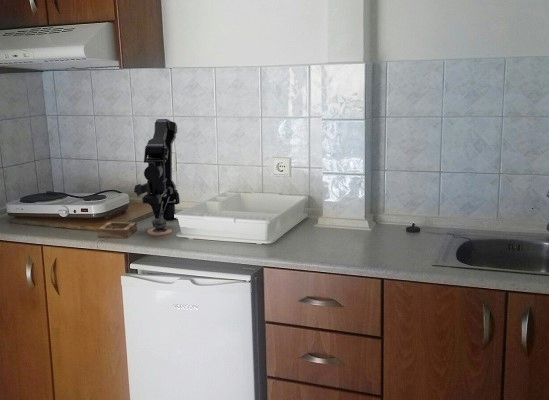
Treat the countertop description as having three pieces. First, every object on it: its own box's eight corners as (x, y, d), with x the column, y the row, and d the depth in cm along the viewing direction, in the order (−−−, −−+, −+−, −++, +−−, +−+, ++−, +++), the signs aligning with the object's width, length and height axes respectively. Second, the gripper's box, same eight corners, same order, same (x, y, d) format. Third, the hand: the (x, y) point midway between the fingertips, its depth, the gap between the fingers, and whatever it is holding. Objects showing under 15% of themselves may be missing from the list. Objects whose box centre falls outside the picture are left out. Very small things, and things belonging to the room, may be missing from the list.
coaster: (152, 228, 238) (151, 227, 238) (174, 229, 237) (174, 227, 237) (144, 234, 230) (144, 233, 230) (167, 235, 229) (167, 234, 228)
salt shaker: (165, 232, 231) (164, 201, 228) (150, 232, 231) (148, 201, 228) (168, 228, 236) (167, 198, 234) (153, 228, 236) (152, 198, 234)
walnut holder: (109, 229, 238) (109, 221, 237) (136, 230, 236) (136, 222, 236) (97, 237, 227) (97, 229, 226) (126, 238, 226) (126, 230, 225)
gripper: (144, 171, 239) (146, 210, 242) (127, 180, 221) (129, 222, 224) (172, 171, 237) (174, 211, 241) (157, 181, 219) (159, 223, 223)
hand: (159, 216), depth 232 cm, fingers open, 4 cm apart
